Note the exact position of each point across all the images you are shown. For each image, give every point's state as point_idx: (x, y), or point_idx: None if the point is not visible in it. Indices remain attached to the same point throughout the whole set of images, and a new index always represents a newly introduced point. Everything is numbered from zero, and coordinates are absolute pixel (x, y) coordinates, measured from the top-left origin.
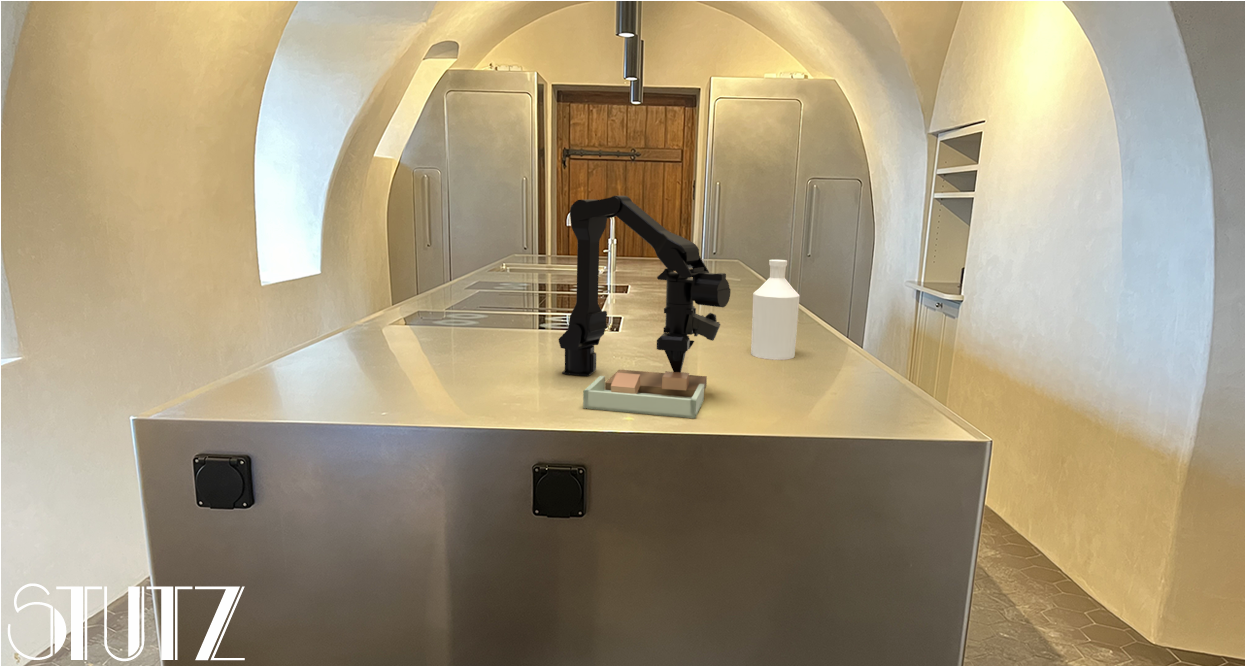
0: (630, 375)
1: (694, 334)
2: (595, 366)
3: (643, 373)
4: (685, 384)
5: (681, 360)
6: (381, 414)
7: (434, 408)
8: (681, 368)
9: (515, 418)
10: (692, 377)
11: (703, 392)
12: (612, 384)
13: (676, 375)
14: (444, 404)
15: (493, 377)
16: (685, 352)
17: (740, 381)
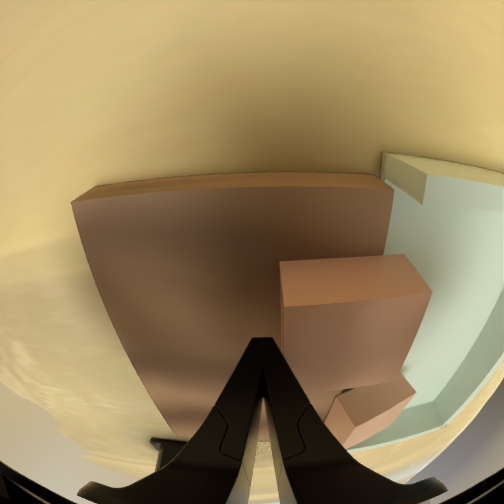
0: (355, 434)
1: (2, 484)
2: (168, 450)
3: (180, 406)
4: (416, 275)
5: (317, 414)
6: (414, 464)
7: (403, 461)
8: (266, 363)
9: (455, 420)
10: (128, 265)
11: (423, 164)
12: (386, 426)
13: (366, 348)
14: (391, 465)
15: (268, 481)
16: (219, 451)
17: (5, 81)
